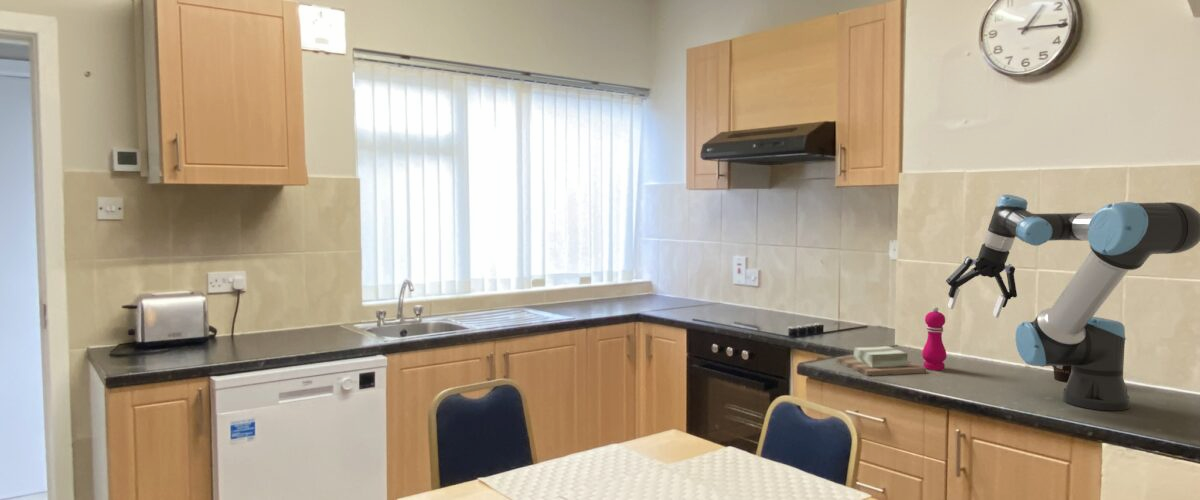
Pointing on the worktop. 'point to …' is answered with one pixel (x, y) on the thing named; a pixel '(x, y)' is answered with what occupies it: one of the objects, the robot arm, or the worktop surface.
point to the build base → (881, 369)
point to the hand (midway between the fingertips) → (972, 311)
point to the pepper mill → (934, 341)
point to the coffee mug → (1062, 373)
